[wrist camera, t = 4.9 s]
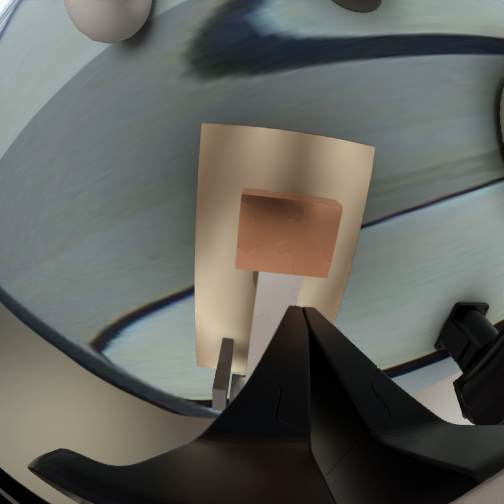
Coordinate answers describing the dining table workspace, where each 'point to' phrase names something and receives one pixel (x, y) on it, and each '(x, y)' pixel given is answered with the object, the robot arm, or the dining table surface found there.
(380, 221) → the dining table surface
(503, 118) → the canister
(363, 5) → the sundae
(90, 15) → the donut
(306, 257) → the lever
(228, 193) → the base
